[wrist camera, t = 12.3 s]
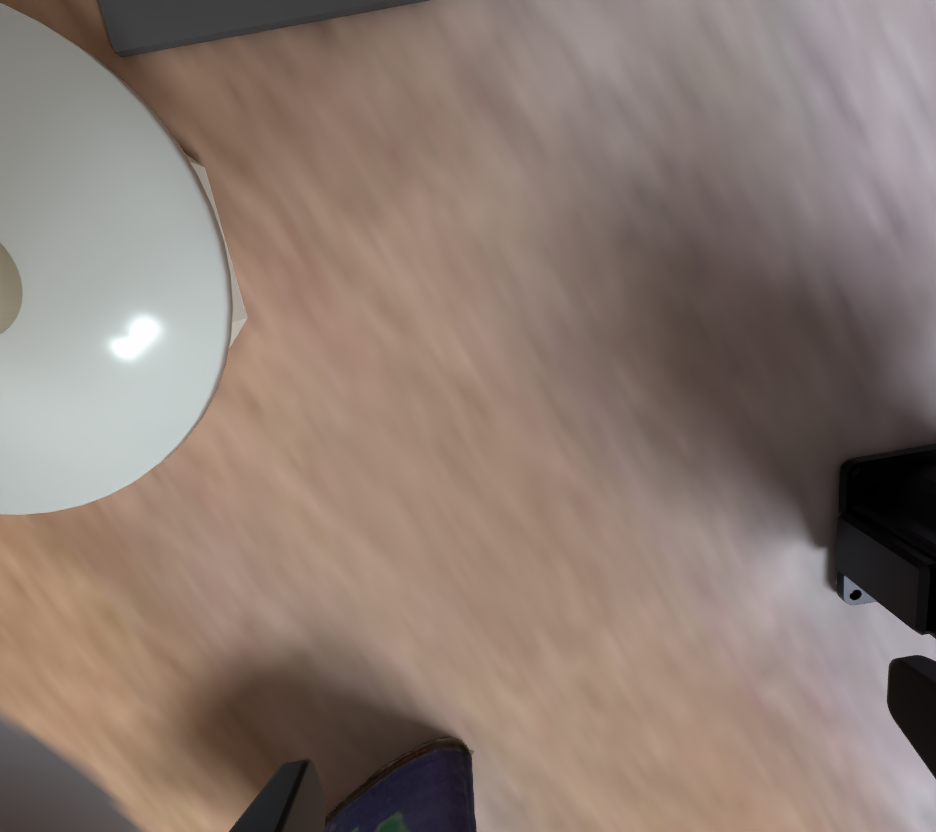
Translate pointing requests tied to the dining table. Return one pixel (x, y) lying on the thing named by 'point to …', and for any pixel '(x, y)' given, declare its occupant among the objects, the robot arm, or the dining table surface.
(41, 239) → the lid
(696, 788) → the dining table surface
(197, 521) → the dining table surface
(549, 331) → the dining table surface
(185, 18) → the mat
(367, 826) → the flask
